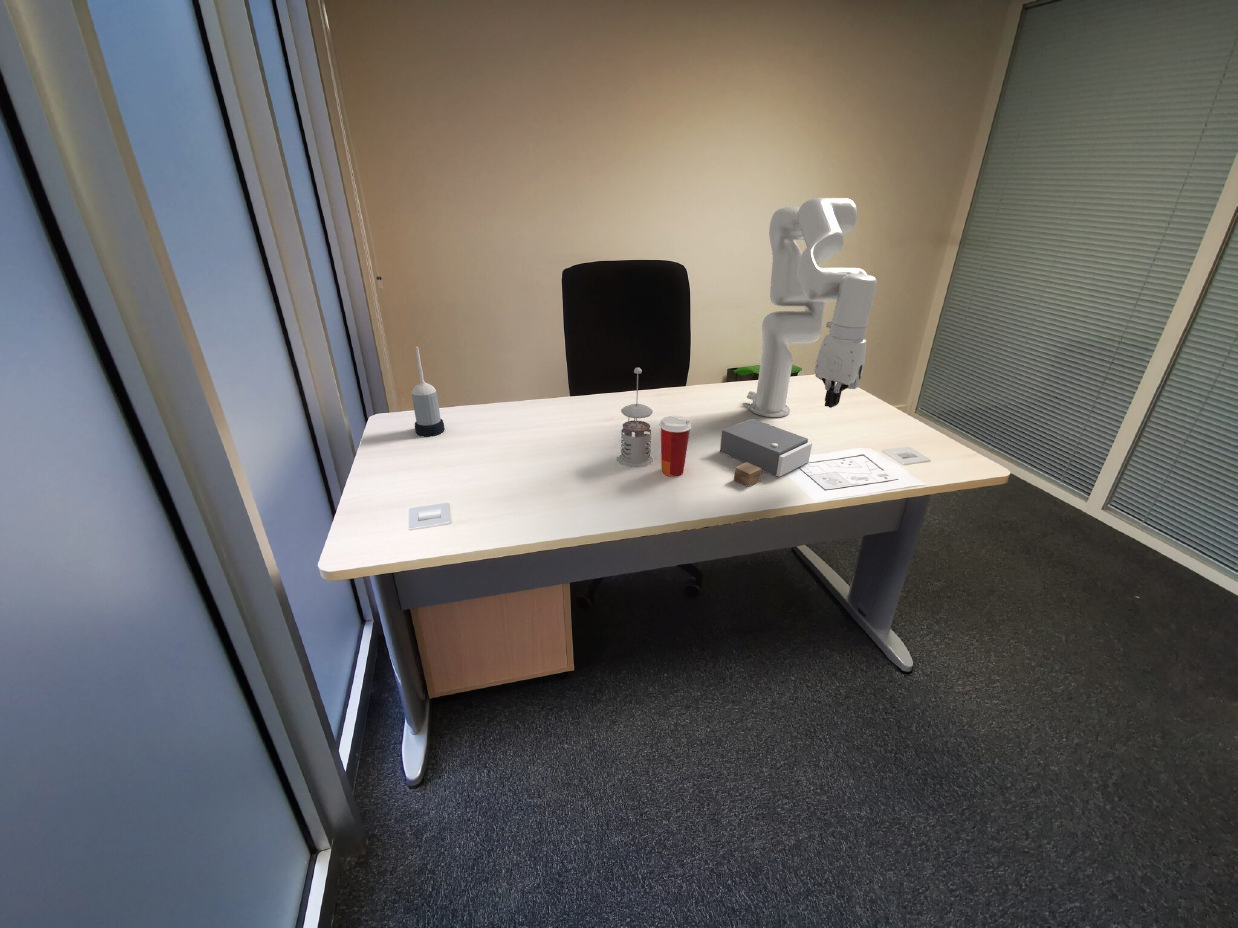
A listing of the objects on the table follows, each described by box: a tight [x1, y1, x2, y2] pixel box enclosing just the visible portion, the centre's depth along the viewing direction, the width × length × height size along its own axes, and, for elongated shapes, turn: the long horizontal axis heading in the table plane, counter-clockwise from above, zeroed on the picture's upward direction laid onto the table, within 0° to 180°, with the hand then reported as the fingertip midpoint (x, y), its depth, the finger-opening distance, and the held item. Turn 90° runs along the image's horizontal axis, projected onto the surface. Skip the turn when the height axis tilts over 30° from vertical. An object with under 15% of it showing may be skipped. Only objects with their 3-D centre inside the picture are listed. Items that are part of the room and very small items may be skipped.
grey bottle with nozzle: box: [411, 346, 446, 438], centre depth 153 cm, size 8×8×25 cm
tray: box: [776, 441, 813, 477], centre depth 143 cm, size 18×13×5 cm
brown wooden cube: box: [733, 462, 763, 488], centre depth 132 cm, size 4×4×4 cm
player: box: [719, 418, 809, 477], centre depth 144 cm, size 18×13×7 cm
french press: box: [616, 367, 655, 469], centre depth 138 cm, size 10×12×25 cm
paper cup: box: [658, 415, 692, 478], centre depth 134 cm, size 8×8×14 cm
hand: (830, 405), depth 132 cm, fingers closed
